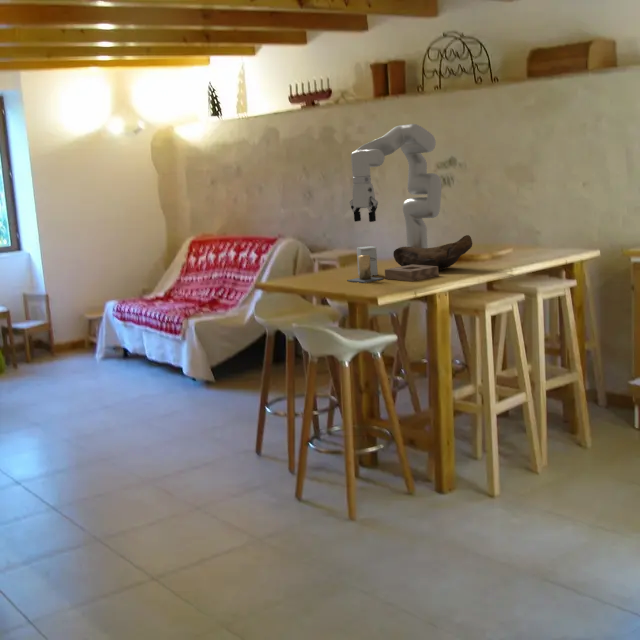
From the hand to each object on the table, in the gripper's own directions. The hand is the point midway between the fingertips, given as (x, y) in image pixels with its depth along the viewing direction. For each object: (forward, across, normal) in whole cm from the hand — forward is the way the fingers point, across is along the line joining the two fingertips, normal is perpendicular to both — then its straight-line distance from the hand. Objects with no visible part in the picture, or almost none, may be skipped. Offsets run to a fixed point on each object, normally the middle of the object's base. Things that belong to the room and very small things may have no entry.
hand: (365, 221), depth 350 cm
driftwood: (+26, -6, -32) cm, 42 cm away
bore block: (+25, -14, -12) cm, 31 cm away
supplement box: (+25, +10, -8) cm, 28 cm away
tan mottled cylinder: (+24, -1, +3) cm, 24 cm away
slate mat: (+25, -1, +3) cm, 25 cm away
